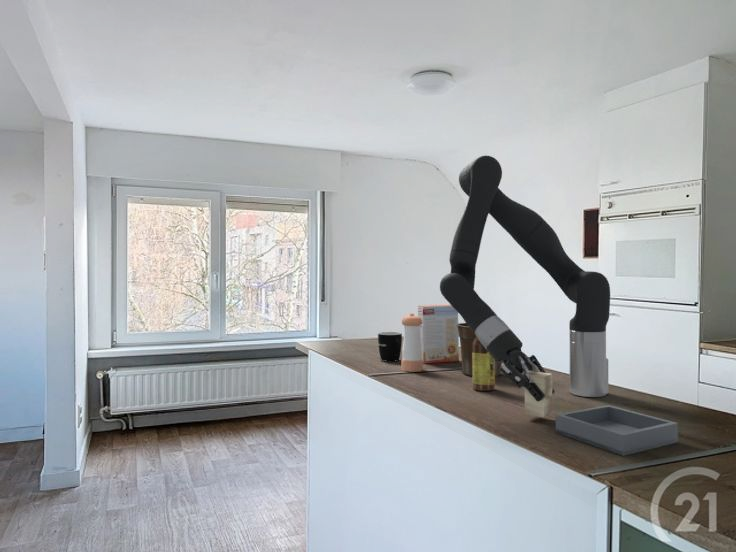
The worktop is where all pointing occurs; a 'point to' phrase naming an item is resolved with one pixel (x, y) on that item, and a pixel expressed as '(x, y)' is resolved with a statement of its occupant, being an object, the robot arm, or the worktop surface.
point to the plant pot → (469, 349)
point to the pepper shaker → (412, 344)
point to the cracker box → (439, 333)
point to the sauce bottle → (482, 367)
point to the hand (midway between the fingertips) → (546, 396)
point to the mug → (390, 345)
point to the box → (617, 429)
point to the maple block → (546, 404)
